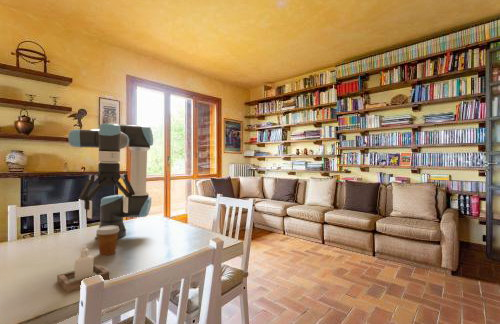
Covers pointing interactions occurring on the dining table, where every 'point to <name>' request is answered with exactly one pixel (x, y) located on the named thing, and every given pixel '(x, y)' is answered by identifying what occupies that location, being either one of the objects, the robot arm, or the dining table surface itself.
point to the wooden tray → (69, 281)
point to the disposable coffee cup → (107, 239)
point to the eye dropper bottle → (84, 265)
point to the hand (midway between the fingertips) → (108, 215)
